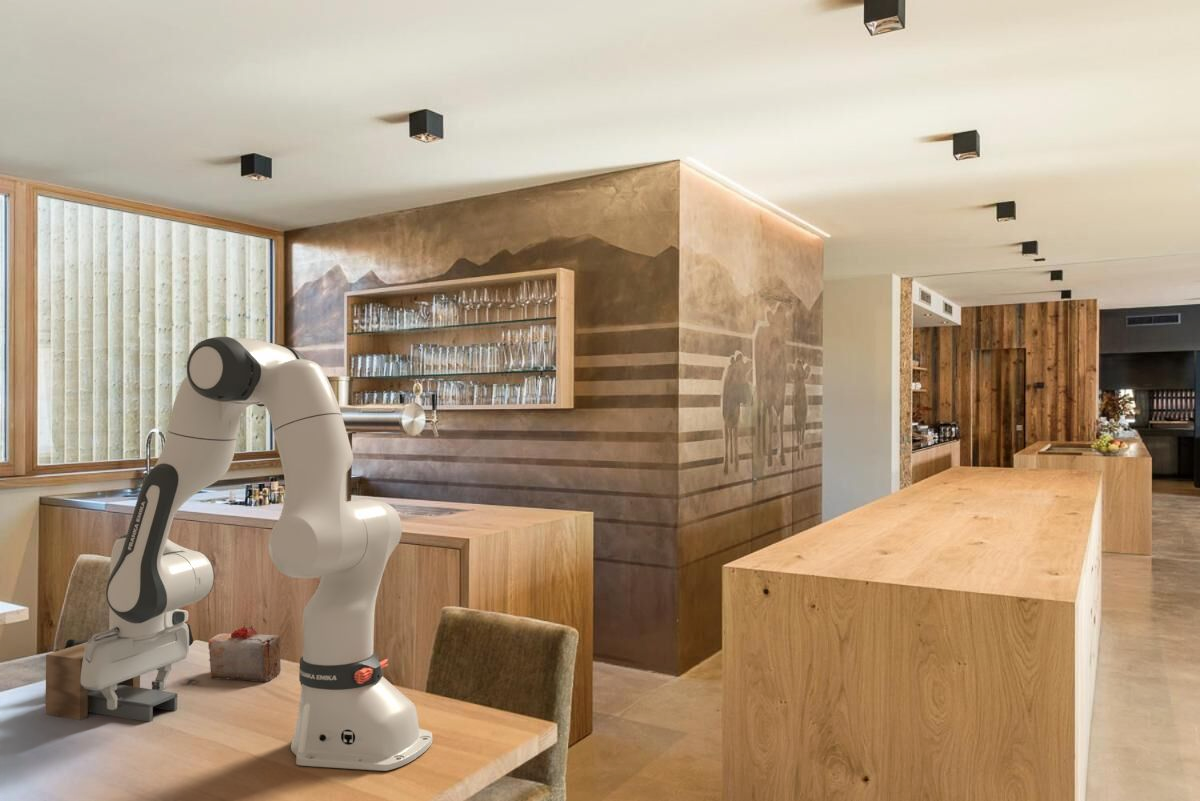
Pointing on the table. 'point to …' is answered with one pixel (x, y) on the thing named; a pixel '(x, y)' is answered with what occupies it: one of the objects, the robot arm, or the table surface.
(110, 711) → the grey channel riser
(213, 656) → the food item
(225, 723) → the table surface
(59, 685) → the wooden arch
